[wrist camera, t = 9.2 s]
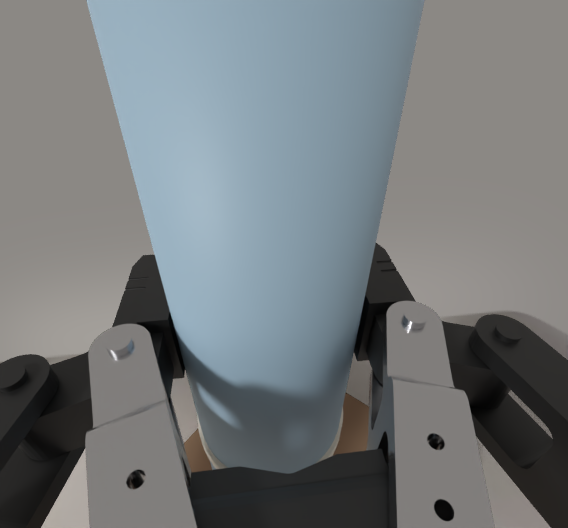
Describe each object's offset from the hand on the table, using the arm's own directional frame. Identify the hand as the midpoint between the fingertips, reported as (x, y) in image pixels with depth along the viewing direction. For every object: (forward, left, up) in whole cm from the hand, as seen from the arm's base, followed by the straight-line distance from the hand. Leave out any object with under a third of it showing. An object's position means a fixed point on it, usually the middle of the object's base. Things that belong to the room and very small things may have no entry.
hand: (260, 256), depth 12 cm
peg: (+2, -2, -9) cm, 9 cm away
